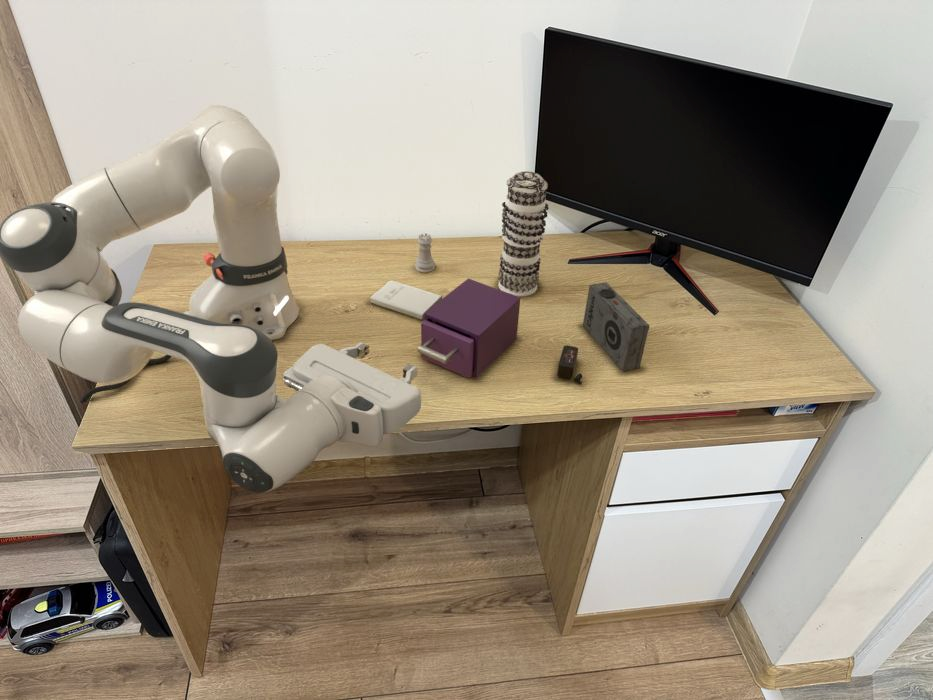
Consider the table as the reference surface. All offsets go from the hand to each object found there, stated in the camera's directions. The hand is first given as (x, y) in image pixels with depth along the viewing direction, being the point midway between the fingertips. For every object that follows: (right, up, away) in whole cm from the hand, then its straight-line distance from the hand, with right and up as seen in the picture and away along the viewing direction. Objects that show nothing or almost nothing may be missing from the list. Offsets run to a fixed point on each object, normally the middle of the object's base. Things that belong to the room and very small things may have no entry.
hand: (389, 357), depth 108 cm
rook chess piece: (+3, +19, +47) cm, 51 cm away
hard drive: (0, +11, +36) cm, 38 cm away
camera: (+39, +2, +27) cm, 48 cm away
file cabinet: (+13, +2, +25) cm, 28 cm away
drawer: (+11, 0, +21) cm, 24 cm away
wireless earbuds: (+31, -3, +19) cm, 37 cm away
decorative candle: (+23, +15, +43) cm, 51 cm away
